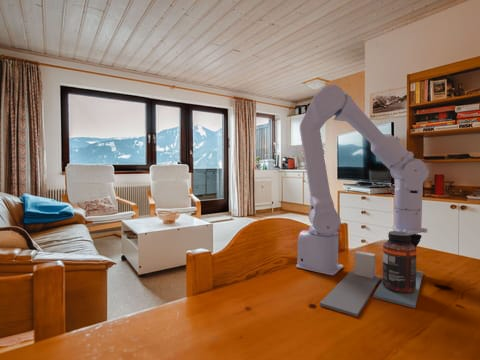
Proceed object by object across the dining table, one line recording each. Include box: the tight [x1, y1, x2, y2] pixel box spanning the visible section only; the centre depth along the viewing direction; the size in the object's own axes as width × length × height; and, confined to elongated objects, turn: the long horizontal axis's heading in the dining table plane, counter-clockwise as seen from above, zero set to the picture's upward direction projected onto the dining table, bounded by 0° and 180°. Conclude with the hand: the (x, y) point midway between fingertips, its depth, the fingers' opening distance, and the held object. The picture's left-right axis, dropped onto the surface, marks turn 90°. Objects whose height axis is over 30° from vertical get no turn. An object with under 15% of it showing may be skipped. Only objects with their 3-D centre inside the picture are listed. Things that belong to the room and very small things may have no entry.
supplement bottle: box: [381, 230, 417, 293], centre depth 56 cm, size 6×6×11 cm
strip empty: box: [319, 250, 382, 318], centre depth 56 cm, size 6×21×6 cm, turn 143°
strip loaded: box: [372, 249, 424, 309], centre depth 59 cm, size 7×21×6 cm, turn 143°
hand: (405, 265), depth 67 cm, fingers closed on strip loaded, 2 cm apart
